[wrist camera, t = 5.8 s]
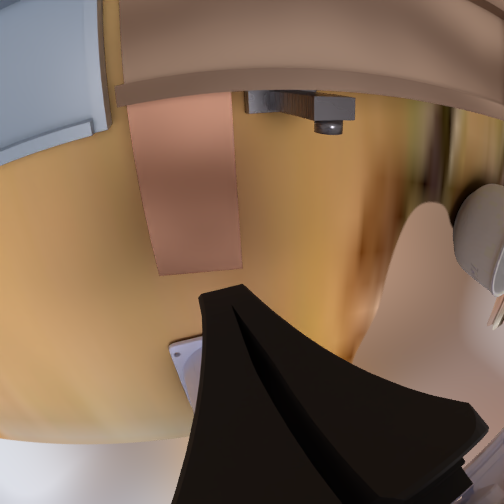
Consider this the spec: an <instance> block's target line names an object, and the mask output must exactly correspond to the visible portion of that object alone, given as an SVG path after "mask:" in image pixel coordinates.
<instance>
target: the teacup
mask: <svg viewBox="0 0 504 504" xmlns="http://www.w3.org/2000/svg"><path fill="white" fill-rule="evenodd" d="M453 241H454V252H455V256H456V259H457V262H458V263H459V265H460V266H461V267H462V269H463V270H464V271H465V272H467V273H468V274H469V275H470V276H471V277H472V278H474V279H475V280H476V281H477V282H479V283H480V284H481V285H483V286H484V287H485V288H487V289H488V290H489V291H490V292H491V293H492V295H494V296H495V297H499V296H501V295H502V294H504V186H501V185H497V184H487V185H484V186H482V187H480V188H478V189H477V190H476V191H475V192H473V193H471V194H470V195H469V196H468V197H467V198H466V199H465V201H464V202H463V203H462V205H461V207H460V209H459V211H458V213H457V216H456V219H455V223H454V228H453Z"/></svg>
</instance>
